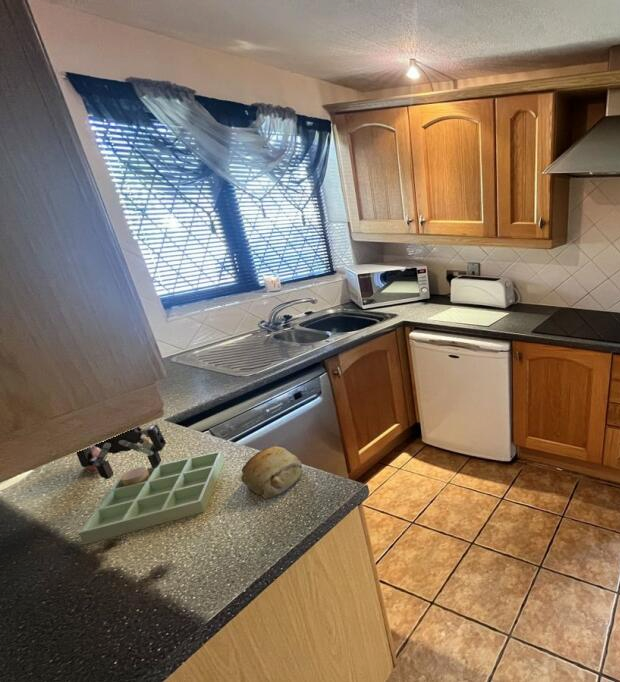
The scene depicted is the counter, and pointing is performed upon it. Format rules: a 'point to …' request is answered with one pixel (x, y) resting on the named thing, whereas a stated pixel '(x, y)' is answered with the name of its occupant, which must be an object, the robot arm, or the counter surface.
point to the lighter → (93, 469)
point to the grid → (156, 497)
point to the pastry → (271, 471)
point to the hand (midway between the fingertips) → (133, 471)
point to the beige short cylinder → (135, 476)
